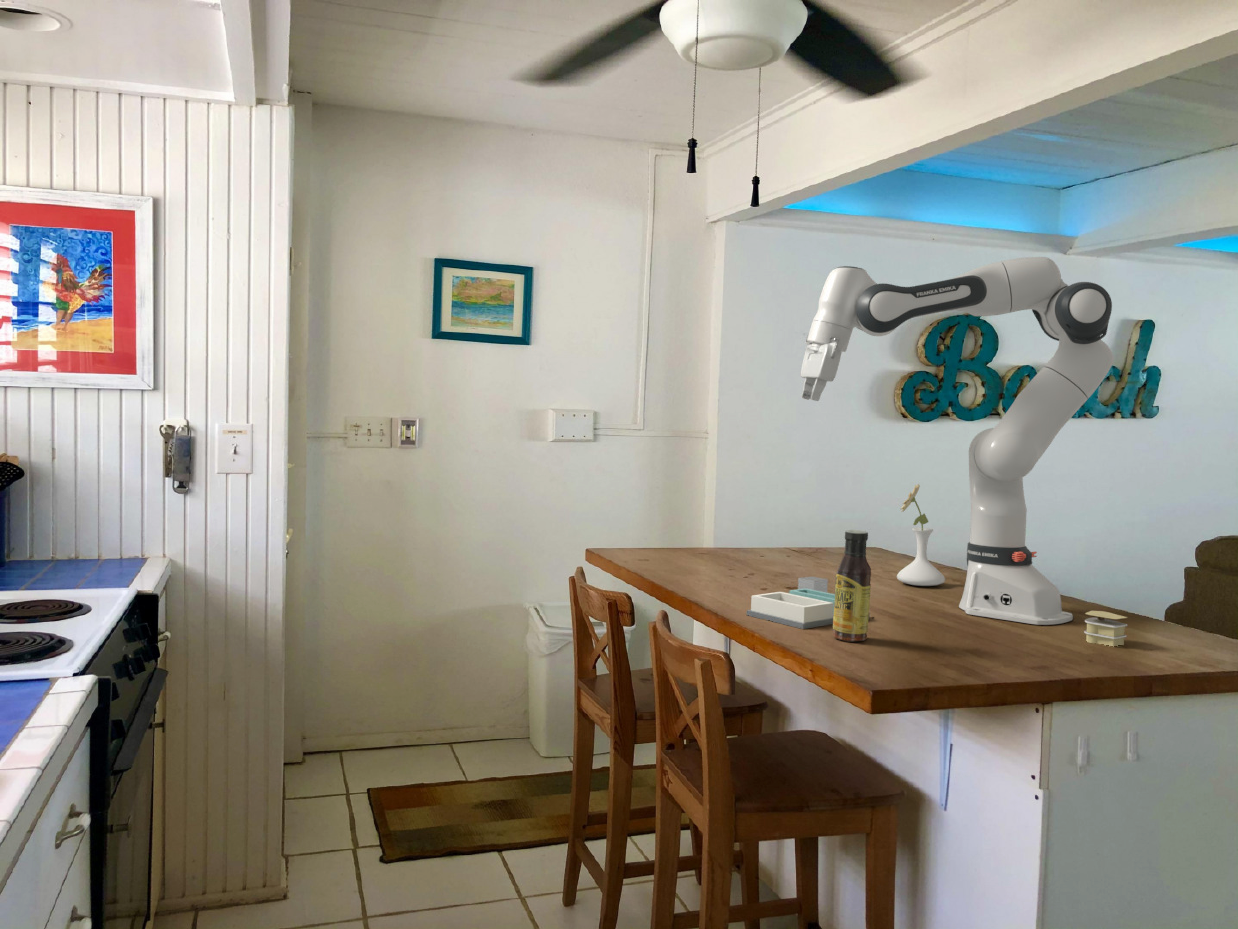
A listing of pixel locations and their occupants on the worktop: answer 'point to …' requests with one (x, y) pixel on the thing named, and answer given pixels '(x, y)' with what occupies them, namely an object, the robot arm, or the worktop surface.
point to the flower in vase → (920, 553)
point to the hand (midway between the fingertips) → (809, 399)
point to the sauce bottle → (852, 590)
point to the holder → (795, 608)
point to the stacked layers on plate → (1105, 629)
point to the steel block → (813, 583)
